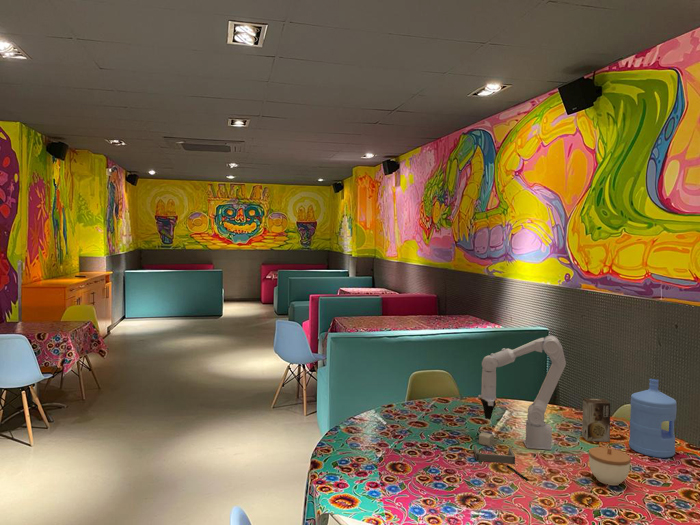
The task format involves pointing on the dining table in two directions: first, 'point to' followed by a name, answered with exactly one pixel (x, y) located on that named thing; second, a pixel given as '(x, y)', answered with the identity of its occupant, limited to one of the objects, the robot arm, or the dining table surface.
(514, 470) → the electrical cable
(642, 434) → the water jug
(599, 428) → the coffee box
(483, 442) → the usb wall charger
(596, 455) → the lidded bowl
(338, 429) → the dining table surface
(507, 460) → the charging bay
